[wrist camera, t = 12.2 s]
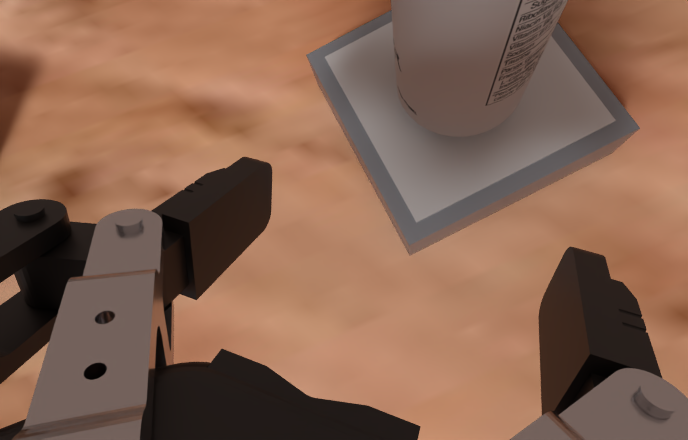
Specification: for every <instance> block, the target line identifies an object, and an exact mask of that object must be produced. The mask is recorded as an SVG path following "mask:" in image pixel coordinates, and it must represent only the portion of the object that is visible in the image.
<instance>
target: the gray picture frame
mask: <svg viewBox="0 0 688 440" xmlns="http://www.w3.org/2000/svg"><path fill="white" fill-rule="evenodd" d="M307 58H308V60H309V63H310V66H311V68H312V71H313V73H314V76H315V78H316V81H317V83H318V85H319V87H320V89H321V91H322V93H323V95H324V97H325V98H326V100H327V102H328V104H329V106H330V108H331V110H332V111H333V113H334V115H335V117H336V119H337V121H338V123H339V125H340V126H341V128H342V130H343V132H344V134H345V136H346V138H347V139H348V141H349V143H350V145H351V147H352V149H353V151H354V152H355V154H356V156H357V158H358V160H359V162H360V164H361V166H362V167H363V169H364V171H365V173H366V175H367V177H368V179H369V180H370V182H371V184H372V186H373V188H374V190H375V192H376V193H377V195H378V197H379V199H380V201H381V203H382V205H383V206H384V208H385V210H386V212H387V214H388V216H389V218H390V220H391V221H392V223H393V225H394V227H395V229H396V231H397V233H398V234H399V236H400V238H401V240H402V242H403V244H404V246H405V247H406V249H407V251H408V253H409V255H412V254H414V253H416V252H418V251H420V250H422V249H424V248H426V247H428V246H430V245H432V244H434V243H436V242H438V241H440V240H442V239H444V238H446V237H448V236H450V235H452V234H454V233H455V232H457V231H459V230H461V229H463V228H465V227H467V226H469V225H471V224H473V223H475V222H477V221H479V220H481V219H483V218H485V217H487V216H489V215H491V214H493V213H495V212H497V211H499V210H501V209H503V208H505V207H507V206H509V205H511V204H513V203H515V202H517V201H519V200H521V199H523V198H524V197H526V196H528V195H530V194H532V193H534V192H536V191H538V190H540V189H542V188H544V187H546V186H548V185H550V184H552V183H554V182H556V181H558V180H560V179H562V178H564V177H566V176H568V175H570V174H572V173H574V172H576V171H578V170H580V169H582V168H584V167H586V166H588V165H590V164H592V163H593V162H595V161H597V160H599V159H601V158H603V157H605V156H607V155H609V154H611V153H613V152H614V151H615V150H616V149H617V148H618V147H619V146H621V145H622V144H623V143H624V142H625V141H626V140H627V139H628V138H630V137H631V136H632V135H633V134H634V133H635V132H636V131H638V130H639V129H640V127H639V126H638V125H637V123H636V122H635V121H634V120H633V118H632V117H631V116H630V115H629V113H628V112H627V111H626V109H625V108H624V107H623V106H622V104H621V103H620V102H619V100H618V99H617V98H616V97H615V95H614V94H613V93H612V91H611V90H610V89H609V88H608V86H607V85H606V84H605V82H604V81H603V80H602V79H601V77H600V76H599V75H598V73H597V72H596V71H595V70H594V68H593V67H592V66H591V64H590V63H589V62H588V61H587V59H586V58H585V57H584V55H583V54H582V53H581V52H580V50H579V49H578V48H577V47H576V45H575V44H574V43H573V41H572V40H571V39H570V38H569V36H568V35H567V34H566V32H565V31H564V30H563V29H562V27H561V26H560V25H559V23H558V22H557V24H556V26H555V28H554V31H553V33H552V35H551V37H550V39H549V41H548V43H547V45H546V47H545V50H544V52H543V54H542V56H541V58H540V60H539V62H538V64H537V66H536V68H535V71H534V73H533V75H532V77H531V79H530V81H529V83H528V85H527V87H526V90H525V92H524V94H523V96H522V98H521V100H520V102H519V104H518V106H517V107H516V109H515V110H514V111H513V113H512V114H511V115H510V116H509V117H508V118H507V119H506V120H505V121H504V122H502V123H501V124H500V125H498V126H496V127H495V128H493V129H491V130H489V131H486V132H484V133H481V134H478V135H472V136H466V137H451V136H446V135H440V134H437V133H435V132H432V131H429V130H427V129H425V128H424V127H422V126H421V125H419V124H417V123H416V122H415V121H414V120H413V119H412V118H411V117H410V116H409V115H408V114H407V112H406V111H405V109H404V108H403V106H402V104H401V102H400V99H399V97H398V92H397V86H396V72H395V56H394V40H393V25H392V10H391V11H389V12H387V13H385V14H383V15H381V16H379V17H377V18H376V19H374V20H372V21H370V22H368V23H366V24H364V25H362V26H360V27H358V28H357V29H355V30H353V31H351V32H349V33H347V34H345V35H343V36H341V37H339V38H338V39H336V40H334V41H332V42H330V43H328V44H326V45H324V46H322V47H320V48H319V49H317V50H315V51H313V52H311V53H309V54H307Z"/></svg>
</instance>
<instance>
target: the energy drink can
mask: <svg viewBox="0 0 688 440" xmlns="http://www.w3.org/2000/svg"><path fill="white" fill-rule="evenodd" d="M567 1H568V0H391V9H392V25H393V40H394V56H395V72H396V86H397V92H398V97H399V99H400V102H401V104H402V106H403V108H404V109H405V111H406V112H407V114H408V115H409V116H410V117H411V118H412V119H413V120H414V121H415V122H416V123H417V124H419V125H421V126H422V127H424V128H425V129H427V130H429V131H432V132H435V133H437V134H440V135H446V136H451V137H466V136H472V135H478V134H481V133H484V132H486V131H489V130H491V129H493V128H495V127H496V126H498V125H500V124H501V123H502V122H504V121H505V120H506V119H507V118H508V117H509V116H510V115H511V114H512V113H513V111H514V110H515V109H516V107H517V106H518V104H519V102H520V100H521V98H522V96H523V94H524V92H525V90H526V87H527V85H528V83H529V81H530V79H531V77H532V75H533V73H534V71H535V68H536V66H537V64H538V62H539V60H540V58H541V56H542V54H543V52H544V50H545V47H546V45H547V43H548V41H549V39H550V37H551V35H552V33H553V31H554V28H555V26H556V24H557V22H558V20H559V18H560V16H561V14H562V12H563V10H564V7H565V5H566V3H567Z"/></svg>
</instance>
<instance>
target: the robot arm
mask: <svg viewBox="0 0 688 440" xmlns="http://www.w3.org/2000/svg"><path fill="white" fill-rule="evenodd" d="M271 199H272V167H271V165H270V164H269V163H267V162H263V161H259V160H256V159H252V158H248V157H242V158H241V159H239V160H238V161H236V162H235V163H234V164H232V165H231V166H229V167H228V168H226V169H225V168H223V169H219V170H216V171H213V172H210V173H207V174H205V175H204V176H202V177H201V178H199V179H198V180H196V181H195V183H194V184H193V183H192V184H190V185H189V186H187V187H186V188H185V190H182V191H180V192H179V193H177V194H176V195H174V196H173V197H171V198H170V199H168V200H167V201H165V202H164V203H162V204H161V205H159V206H158V207H156V208H155V209H153V210H152V211H149V210H144V209H127V210H121V211H118V212H114V213H112V214H109V215H107V216H105V217H104V218H102V219H101V220H100V221H99V222H98V223H97V224H91V223H80V222H70V221H69V217H68V214H67V210H66V207H65V206H64V205H63V204H62V203H60V202H57V201H53V200H45V199H39V200H29V201H24V202H20V203H16V204H14V205H11V206H9V207H7V208H5V209H3V210H1V211H0V283H1V282H2V281H4V280H5V279H7V278H8V277H10V276H11V275H13V274H14V275H15V277H16V280H17V282H18V285H19V287H20V290H21V291H20V292H18V293H17V294H16V295H14V296H13V297H11V298H10V299H9V300H7V301H6V302H4V303H3V304H2V305H0V384H1V383H2V382H3V381H4V380H6V379H7V378H8V377H9V376H10V375H11V374H12V373H14V372H15V371H16V370H17V369H18V368H19V367H20V366H22V365H23V364H24V363H25V362H26V361H27V360H29V359H30V358H31V357H32V356H33V355H34V354H35V353H37V352H38V351H39V350H40V349H41V348H42V347H43V346H45V345H46V344H47V343H48V342H49V345H48V348H47V351H46V355H45V358H44V361H43V365H42V368H41V371H40V375H39V378H38V381H37V385H36V388H35V391H34V395H33V398H32V401H31V405H30V408H29V411H28V415H27V418H26V419H25V420H22V421H20V422H17V423H15V424H12V425H9V426H7V427H4V428H2V429H0V440H417V439H418V435H419V431H420V426H418V425H415V424H413V423H410V422H408V421H405V420H403V419H400V418H398V417H395V416H392V415H390V414H387V413H385V412H382V411H380V410H377V409H375V408H372V407H370V406H366V405H359V404H352V403H345V402H339V401H332V400H325V399H318V398H313V397H310V396H308V395H306V394H304V393H303V392H302V391H300V390H299V389H298V388H296V387H295V386H293V385H292V384H291V383H289V382H288V381H286V380H285V379H284V378H282V377H281V376H280V375H278V374H277V373H275V372H274V371H273V370H271V369H270V368H268V367H267V366H265V365H262V364H260V363H257V362H255V361H252V360H249V359H247V358H244V357H242V356H239V355H237V354H234V353H232V352H229V351H227V350H224V349H221V350H220V352H219V353H218V354H217V356H216V357H215V358H214V359H213V361H212V362H211V363H209V362H187V363H178V364H174V304H173V300H174V299H175V298H176V297H177V296H178V295H179V294H182V295H184V296H187V297H190V298H192V299H195V300H197V299H198V298H199V297H200V296H201V295H202V294H203V293H204V292H205V291H206V290H207V289H208V288H209V287H210V286H211V285H212V284H213V283H214V282H215V280H216V279H217V278H218V277H219V276H220V275H221V274H222V273H223V272H224V271H225V270H226V269H227V268H228V267H229V266H230V265H231V264H232V263H233V262H234V261H235V260H236V259H237V258H238V257H239V256H240V255H241V254H242V253H243V252H244V250H245V249H246V248H247V247H248V246H249V245H250V244H251V243H252V242H253V241H254V240H255V239H256V238H257V237H258V236H259V235H260V234H261V233H262V232H263V231H264V229H265V228H266V226H267V224H268V222H269V219H270V215H271ZM641 317H642V314H641V311H640V308H639V305H638V302H637V299H636V298H635V297H634V295H633V294H632V293H631V292H630V291H629V289H628V288H627V287H626V286H625V285H624V284H623V282H620V281H616V280H613V279H611V278H610V274H609V270H608V266H607V263H606V259H605V257H604V256H603V255H600V254H596V253H593V252H589V251H585V250H582V249H578V248H574V247H569V248H568V249H567V250H566V251H565V253H564V255H563V257H562V259H561V261H560V263H559V265H558V267H557V269H556V271H555V273H554V275H553V277H552V279H551V281H550V283H549V286H548V288H547V290H546V292H545V294H544V296H543V299H542V302H541V306H540V310H539V342H540V371H541V400H542V416H541V417H540V418H538V419H537V420H536V421H534V422H533V423H531V424H530V425H529V426H527V427H526V428H525V429H523V430H522V431H521V432H519V433H518V434H517V435H515V436H514V437H512V438H511V439H510V440H688V399H687V398H686V396H685V395H683V394H682V393H681V392H680V391H679V390H678V389H677V388H675V387H674V386H673V385H672V384H670V383H669V382H667V381H666V380H664V379H662V376H661V373H660V370H659V367H658V363H657V360H656V357H655V354H654V351H653V348H652V345H651V342H650V339H649V336H648V333H646V326H645V323H644V320H643V319H642V318H641Z"/></svg>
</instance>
